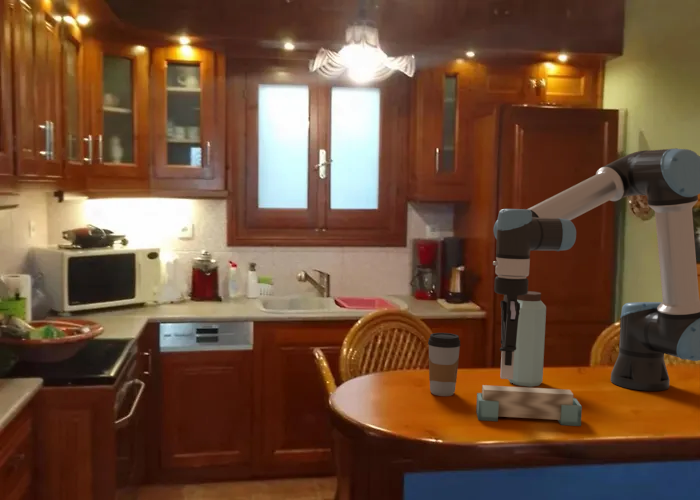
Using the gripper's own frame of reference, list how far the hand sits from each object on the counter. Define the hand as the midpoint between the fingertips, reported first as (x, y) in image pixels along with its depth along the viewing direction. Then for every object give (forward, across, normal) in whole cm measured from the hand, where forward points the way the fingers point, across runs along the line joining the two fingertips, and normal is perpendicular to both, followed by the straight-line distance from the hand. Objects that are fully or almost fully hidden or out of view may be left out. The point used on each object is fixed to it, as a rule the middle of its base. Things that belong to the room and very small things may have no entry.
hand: (506, 378), depth 167 cm
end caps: (+9, 0, +5) cm, 11 cm away
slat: (+9, 0, +5) cm, 10 cm away
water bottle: (+9, -33, +9) cm, 36 cm away
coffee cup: (+10, -18, -14) cm, 25 cm away
